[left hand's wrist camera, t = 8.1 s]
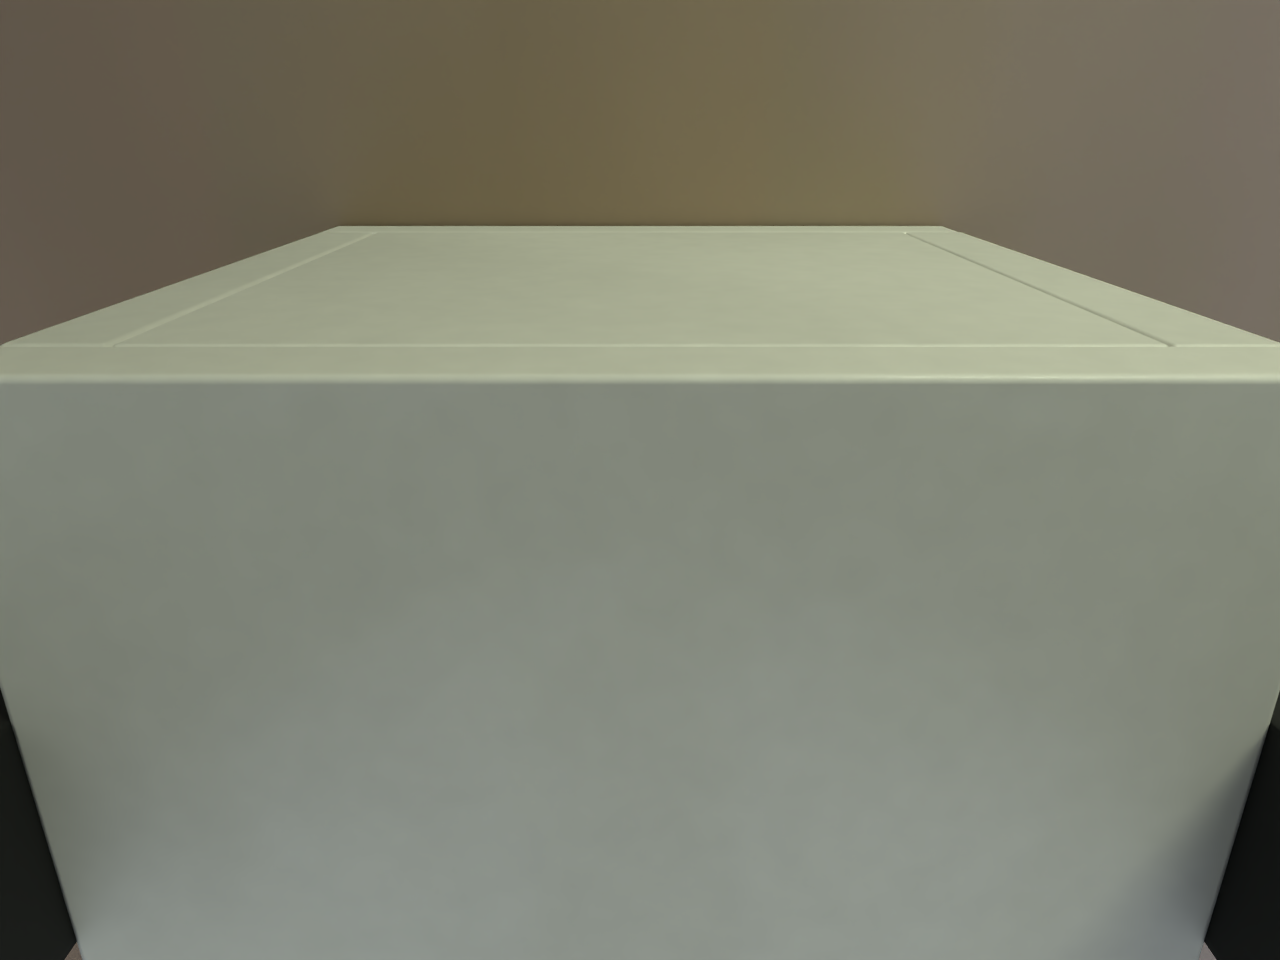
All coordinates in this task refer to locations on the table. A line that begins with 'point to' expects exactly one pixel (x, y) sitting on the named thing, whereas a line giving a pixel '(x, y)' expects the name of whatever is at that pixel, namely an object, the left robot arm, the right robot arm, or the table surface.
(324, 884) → the cabinet
